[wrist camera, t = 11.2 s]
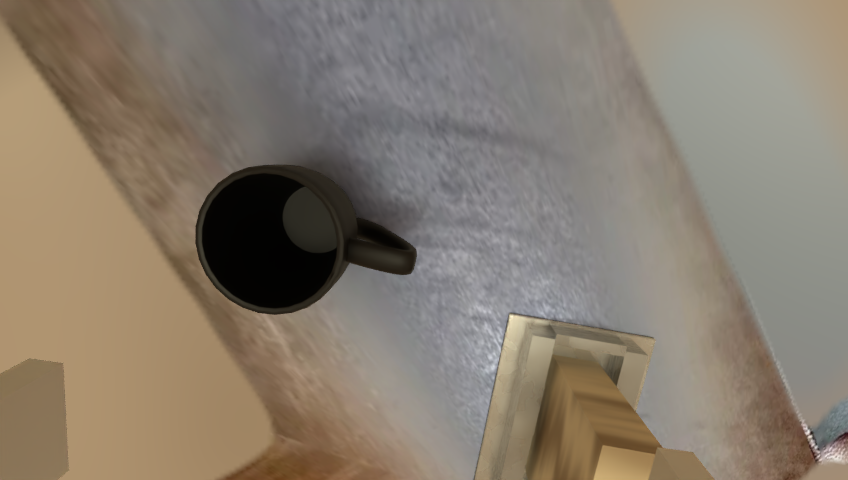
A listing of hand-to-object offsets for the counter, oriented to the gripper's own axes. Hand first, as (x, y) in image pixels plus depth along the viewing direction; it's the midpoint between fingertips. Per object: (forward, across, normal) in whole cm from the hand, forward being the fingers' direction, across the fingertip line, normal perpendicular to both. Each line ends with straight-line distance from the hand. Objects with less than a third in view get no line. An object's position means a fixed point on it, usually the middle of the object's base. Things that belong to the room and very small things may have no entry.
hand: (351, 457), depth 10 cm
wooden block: (+23, +13, -13) cm, 29 cm away
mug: (+24, -6, 0) cm, 25 cm away
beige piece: (+24, +13, -13) cm, 30 cm away
